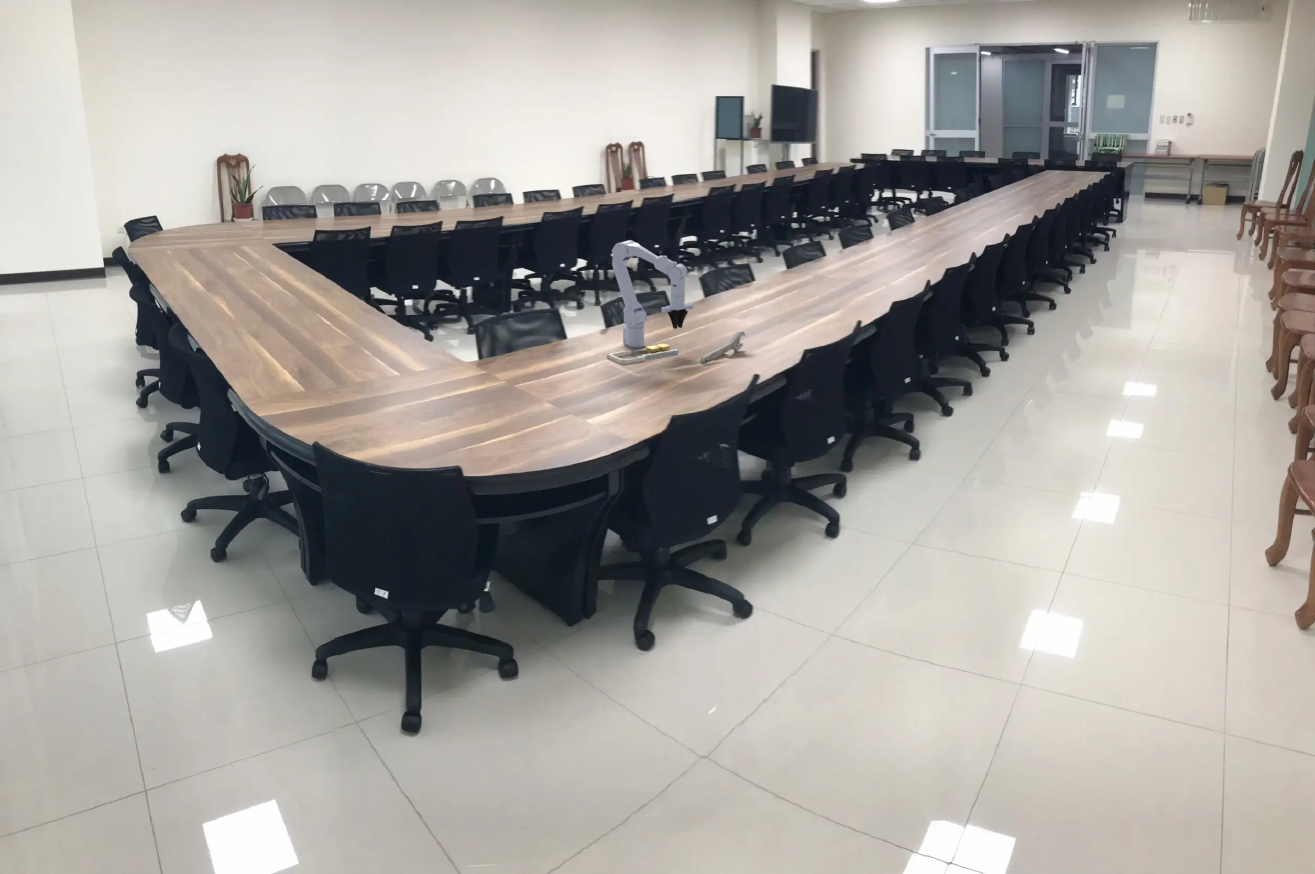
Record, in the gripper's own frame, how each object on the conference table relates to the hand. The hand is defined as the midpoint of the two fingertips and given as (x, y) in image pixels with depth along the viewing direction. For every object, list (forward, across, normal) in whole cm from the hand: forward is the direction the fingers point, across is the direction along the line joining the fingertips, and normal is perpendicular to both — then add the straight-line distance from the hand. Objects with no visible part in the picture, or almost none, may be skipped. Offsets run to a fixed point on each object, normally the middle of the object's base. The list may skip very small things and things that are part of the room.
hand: (677, 328), depth 372 cm
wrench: (+11, +12, -15) cm, 22 cm away
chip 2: (+9, -7, 0) cm, 12 cm away
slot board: (+10, -11, 0) cm, 15 cm away
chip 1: (+9, -12, 0) cm, 15 cm away
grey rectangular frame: (+10, -25, 0) cm, 27 cm away
